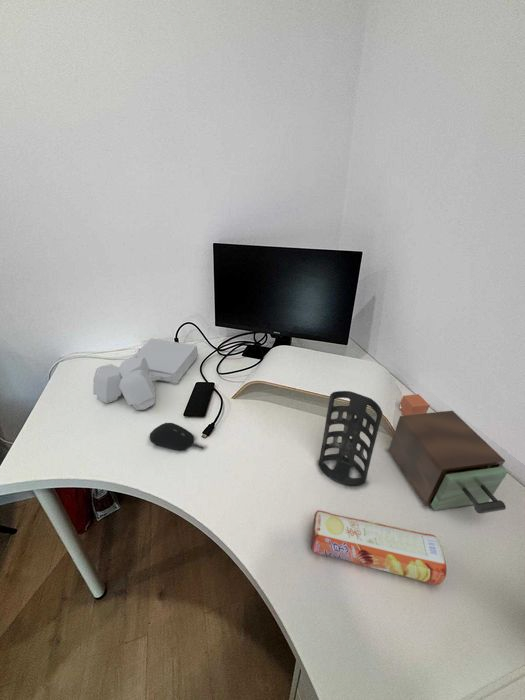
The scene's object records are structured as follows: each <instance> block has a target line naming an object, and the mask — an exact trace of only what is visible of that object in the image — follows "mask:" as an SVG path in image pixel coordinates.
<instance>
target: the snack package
mask: <svg viewBox="0 0 525 700" xmlns="http://www.w3.org/2000/svg"><path fill="white" fill-rule="evenodd" d="M310 549H311V551H313V552H314V553H315V554H317V555H321V556H328V557H333V558H335V559H341V560H344V561H347V562H350V563H353V564H357V565H361V566H365V567H368V568H371V569H375V570H379V571H382V572H383V571H384V572H387V573H391V574H395V575H398V576H402V577H406V578H409V579H413V580H416V581H420V582H424V583H427V584H429V585H432V586H439V585H441V584H442V583H443V582H444V581H445V578H446V576H447V572H448V571H447V564H446V559H445V558H446V557H445V554H444V550H443V546H442V544H441V542H440V540H439V539H438V537H437V536H436V535H434V534H432V533H431V534H430V533H424V532H419V531H414V530H410V529H405V528H402V527H401V528H400V527H397V526H391V525H387V524H382V523H377V522H373V521H368V520H364V519H359V518H354V517H349V516H344V515H339V514H335V513H331V512H328V511H325V510H320V509H319V510H316V511H315V514H314V515H313V521H312V530H311V540H310Z"/></svg>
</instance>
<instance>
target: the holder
mask: <svg viewBox="0 0 525 700" xmlns="http://www.w3.org/2000/svg"><path fill="white" fill-rule="evenodd" d="M336 399H349V403H348V405H334V403H335V400H336ZM368 407H370V408H371V409H372V410H373V411H374V412H375V414H376V419H374V418H373V417H372V416H371V415H370V414H369V413H368V412H367V408H368ZM326 412H327V413H326V417H325V423H324V424H325V425H324V429H323V430H324V431H323V435H322V436H323V437H322V442H321V449H320V454H319V458H318V467H319V469H320V470H321V471H322V473H324V474H325V476H327V477H328V478H329V479H331V480H332V481H334V482H337V483H339V484H342V485H344V486H345V485H346V486H350V487H358V486H363V485H365V484H366V481H367V478H368V473H369V468H370V464H371V460H372V455H373V451H374V448H375V444H376V439H377V436H378V433H379V429H380V425H381V421H382V417H383V415H384V413H383V410H382V409H381V406H380V405H379V404H378V403H377V401H376V400H374V399H372V398H371V397H368V396H365V395H363V394H359V393H357V392H354V391H350V390H338V391H333V392H331V393H330V394H329V400H328V407H327V411H326ZM335 412H336V413H337V418H332V416H333V413H335ZM344 413H346V418H345V417H344ZM355 416H356V418H355ZM365 420H366V423H365V425H364V424H363V423H364V421H365ZM333 425H343V426H344V427H343V430H333V431H330V427H331V426H333ZM371 427H372V430H373V431H372V433H371V430H370V429H371ZM361 433H363V434H364V435H365V436H366V437H367V439H368V440H369V445H368V444H367V443H366V441H364V440H363V438H361V436H360V435H361ZM339 437H341V441H340V442H338V440H339ZM329 438H332V439H333V440H332V442H331V443H328V439H329ZM358 445H359V446H360V447H359V449H358ZM330 449H338V453H330V454H325V453H326V451H327V450H330ZM364 452H365V453H366V457H365V455H364ZM355 456H356V457H357V458H359V460H360V461H361V462H362V464H363V466H364V467H363V468H362V466H361V465H360V464H359V463H358V462H357V461H356V460H355ZM328 461H337V462H336V464H335V466H334V468H333V469H331V468H330V467H329V466H327V464H326V463H325V462H328ZM351 467H353V468H354V469H355V470H356V471H357V472H358V473H359V475H360V477H351V476H350V472H351Z"/></svg>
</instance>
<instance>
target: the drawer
mask: <svg viewBox="0 0 525 700" xmlns="http://www.w3.org/2000/svg"><path fill="white" fill-rule="evenodd" d="M491 466H492V465H488V466H480V467H473V468H466V469H459V470H451V471H445V472H444V474H443V476H442V479H441V481H440V483H439V485H438V487H437V489H436V491H435V493H434V495H433V497H434V499H433V501H432V503H431V505H430V507H431V508H432V510H433V511H434V512H436V511H442V510H448V509H454V508H460V507H466V506H473V508H474V510H475V512H476V513H477V514H479V515H482V514H488V513H493V512H499V511H506V509H507V507H506V504H505V502H503V500H500V499H497V498H496V497H495V495H494V494H495V493H496V491H497V490H498V488H499V486H500V485H501V483H502V482H503V481H504V479H505V477H506V476H507V474H508V473H509V470H508V469H507V468H505V466H503V465H502V467H495V468H490V467H491Z"/></svg>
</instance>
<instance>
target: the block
mask: <svg viewBox="0 0 525 700" xmlns="http://www.w3.org/2000/svg"><path fill="white" fill-rule="evenodd" d="M400 404H401V407H402V408H401V411H400V412H401V413H402V414H403V416H406V415H415V414H425V413H428V410H429V407H430V404H429V403H428V402H427V401H426V400H425V399H424V397H422V396H421V395H420V393H417V394H405V395H402V397H401V401H400Z"/></svg>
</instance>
